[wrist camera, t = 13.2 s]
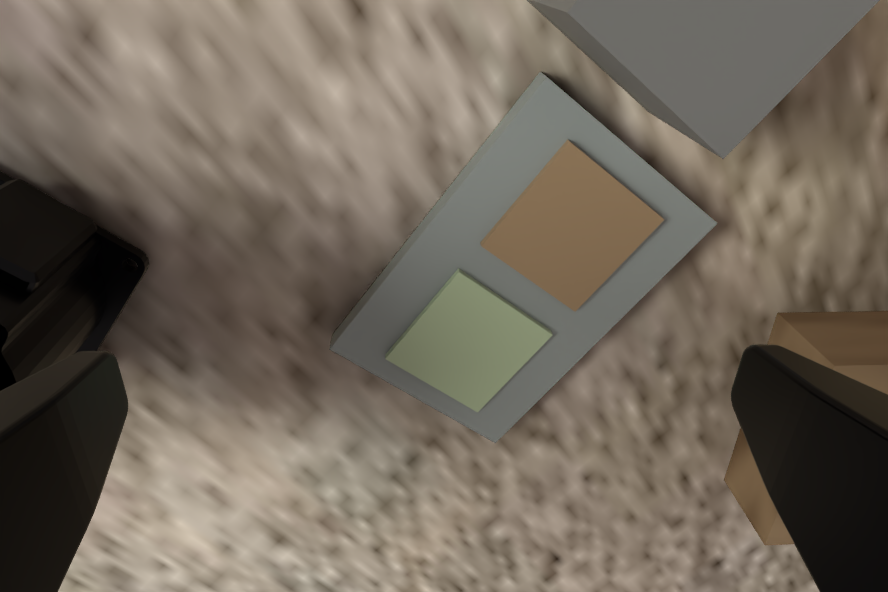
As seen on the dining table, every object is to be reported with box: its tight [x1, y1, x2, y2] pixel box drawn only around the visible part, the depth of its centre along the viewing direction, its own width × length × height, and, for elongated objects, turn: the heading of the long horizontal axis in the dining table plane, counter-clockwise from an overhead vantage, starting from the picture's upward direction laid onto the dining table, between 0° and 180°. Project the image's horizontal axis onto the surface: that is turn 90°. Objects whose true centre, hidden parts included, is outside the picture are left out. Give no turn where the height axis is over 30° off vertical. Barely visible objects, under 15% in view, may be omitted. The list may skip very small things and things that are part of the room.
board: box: [330, 72, 717, 443], centre depth 22 cm, size 12×8×1 cm, turn 142°
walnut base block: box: [724, 311, 888, 545], centre depth 26 cm, size 9×9×4 cm
